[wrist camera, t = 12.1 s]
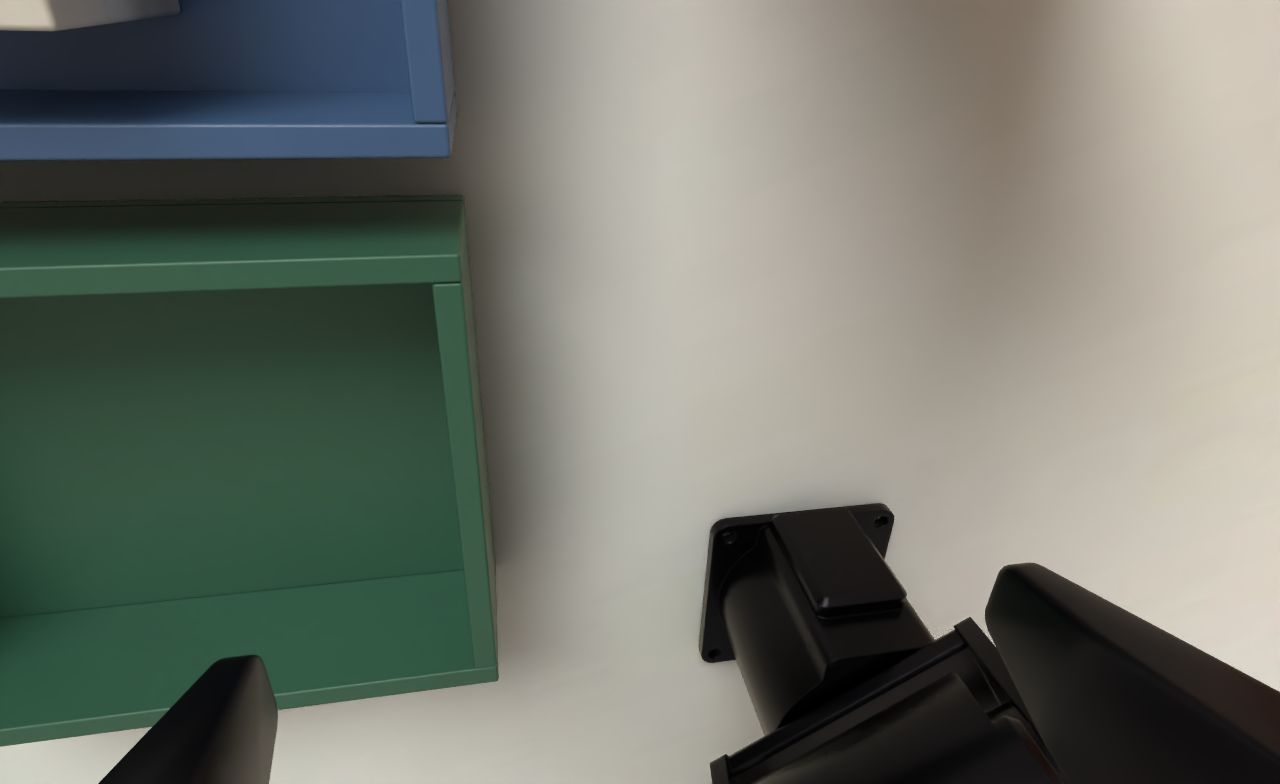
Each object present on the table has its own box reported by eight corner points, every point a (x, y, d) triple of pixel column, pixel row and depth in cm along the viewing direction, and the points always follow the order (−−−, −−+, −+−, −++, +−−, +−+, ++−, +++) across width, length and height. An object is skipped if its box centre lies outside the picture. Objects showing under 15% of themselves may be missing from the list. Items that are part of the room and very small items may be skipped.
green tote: (495, 568, 24) (498, 682, 20) (-37, 625, 21) (-151, 767, 18) (464, 194, 18) (459, 254, 14) (-281, 206, 15) (-534, 283, 12)
